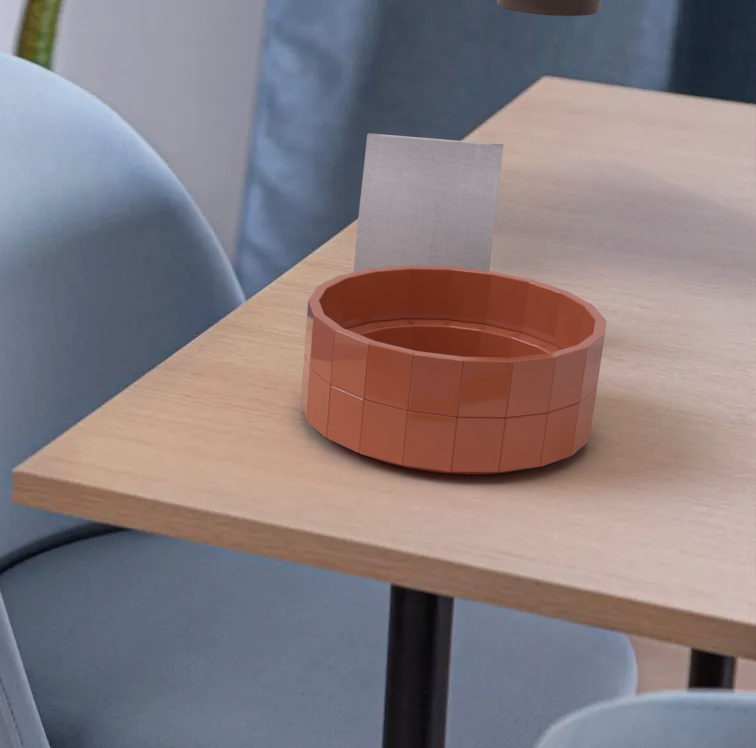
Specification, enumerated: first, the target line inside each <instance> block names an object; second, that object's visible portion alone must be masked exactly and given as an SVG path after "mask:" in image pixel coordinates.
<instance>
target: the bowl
mask: <svg viewBox="0 0 756 748" xmlns="http://www.w3.org/2000/svg"><path fill="white" fill-rule="evenodd" d="M306 311H307V312H306V323H305V324H306V327H305V328H306V329H305V337H304V338H305V339H304V352H303V365H302V366H303V367H302V381H301V393H300V394H301V395H300V396H301V397H300V405H301V409H302V413H303V415H304V417H305V421H306V423H308V424H309V425H310V426H311V427H312V428H314V429H315V430H316V431H317V432H318V433H320V434H321V436H323V437H324V438H325V439H328V440H330V441H332V442H334V443H336V444H338V445H340V446H342V447H345V448H347V449H348V450H351V451H353V452H355V453H357V454H360V455H363V456H366V457H368V458H370V459H373V460H376V461H379V462H383V463H386V464H389V465H393V466H398V467H402V468H405V469H406V468H407V469H411V470H416V471H417V470H418V471H424V472H429V473H430V472H431V473H439V474H448V475H450V474H451V475H476V476H477V475H497V474H505V473H512V472H518V471H523V470H528V469H533V468H535V469H536V468H540V467H544V466H547V465H551V464H554V463H557V462H558V461H563V460H565V459H567V458H570V457H572V456H574V454H576V453H578V451H580V450H581V449H582V448H583V447H585V445H586V444H588V443H589V442H590V438H591V430H592V424H593V417H594V411H595V405H596V404H595V403H596V396H597V389H598V383H599V376H600V369H601V363H602V356H603V350H604V343H605V337H606V330H607V329H606V328H607V320H606V319H605V317H604V316H603V315H602V314H601V312H599V309H597V308H596V306H595V305H593V304H591V303H589V302H588V301H586V300H584V299H583V298H581V297H579V296H577V295H576V294H574V293H572V292H570V291H568V290H565V289H561V288H559V287H556V286H553V285H550V284H547V283H544V282H541V281H539V280H535V279H531V278H526V277H521V276H518V275H512V274H507V273H502V272H499V271H492V270H489V271H485V270H476V269H467V268H458V267H445V266H398V267H386V268H373V269H367V270H362V271H358V272H354V271H353V272H350V273H345V274H340V275H337V276H335V277H333V278H331V279H328V280H326V281H325V282H322V283H321V284H318V285H317V286H316V287H315V289H314V290H313V291H312V293H311V295H310V297H309V298H308V300H307V310H306Z"/></svg>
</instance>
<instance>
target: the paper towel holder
mask: <svg viewBox="0 0 756 748" xmlns="http://www.w3.org/2000/svg"><path fill="white" fill-rule="evenodd" d="M602 1H603V0H496V5H497V6H498V7H500V8H502V9H505V10H508V11H512V12H518V13H523V14H529V15H539V16H550V17H552V16H553V17H585V16H592V15H596V14H598V13H600V12H601V9H602Z"/></svg>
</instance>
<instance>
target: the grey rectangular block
mask: <svg viewBox="0 0 756 748" xmlns="http://www.w3.org/2000/svg"><path fill="white" fill-rule="evenodd" d="M503 152H504V144H503V143H493V142H481V141H480V142H478V141H469V140H468V141H467V140H454V139H443V138H431V137H419V136H418V137H417V136H409V135H408V136H406V135H394V134H384V133H382V134H381V133H371V132H368V133H367V135H366V142H365V153H364V162H363V171H362V172H363V173H362V182H361V190H360V200H359V209H358V218H357V219H358V220H357V229H356V238H355V253H354V264H353V272H358V271H362V270H367V269H373V268H386V267H398V266H445V267H458V268H467V269H476V270H485V271H491V270H490V269H491V268H490V267H491V259H492V250H493V244H494V234H495V227H496V226H495V225H496V217H497V207H498V199H499V190H500V189H499V188H500V179H501V172H502V161H503Z"/></svg>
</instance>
